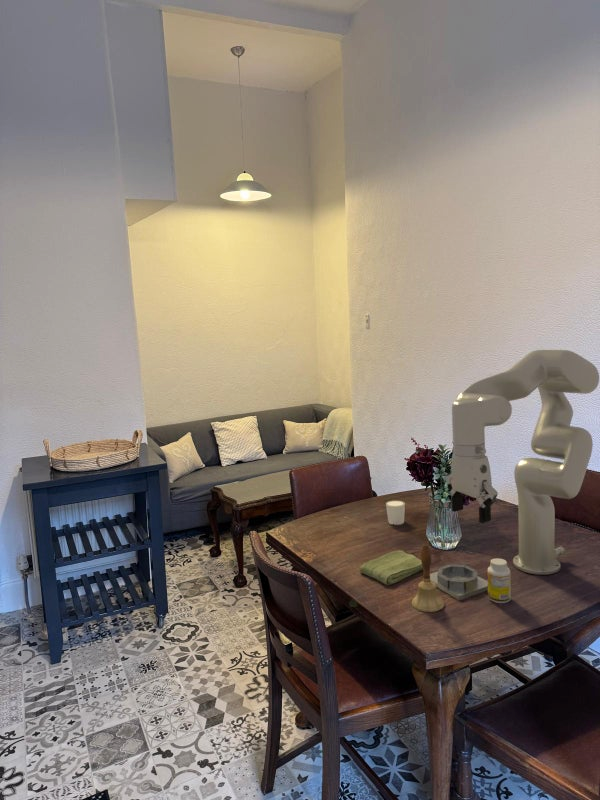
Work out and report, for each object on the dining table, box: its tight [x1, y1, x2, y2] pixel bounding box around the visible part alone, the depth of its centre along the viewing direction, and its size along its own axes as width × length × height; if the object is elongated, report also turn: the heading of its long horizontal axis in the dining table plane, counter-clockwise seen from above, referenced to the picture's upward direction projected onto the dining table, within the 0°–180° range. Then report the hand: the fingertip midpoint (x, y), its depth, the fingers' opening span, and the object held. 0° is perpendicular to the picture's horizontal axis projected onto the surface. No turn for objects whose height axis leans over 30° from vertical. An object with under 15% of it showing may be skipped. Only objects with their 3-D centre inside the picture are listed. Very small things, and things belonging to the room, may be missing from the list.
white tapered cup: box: [385, 500, 406, 526], centre depth 204 cm, size 7×7×7 cm
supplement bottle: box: [487, 558, 512, 604], centre depth 146 cm, size 6×6×10 cm
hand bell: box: [411, 543, 446, 613], centre depth 145 cm, size 8×8×16 cm
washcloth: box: [359, 549, 423, 586], centre depth 166 cm, size 13×18×3 cm
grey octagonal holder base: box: [430, 564, 488, 601], centre depth 155 cm, size 12×14×3 cm
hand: (471, 515), depth 142 cm, fingers open, 9 cm apart
